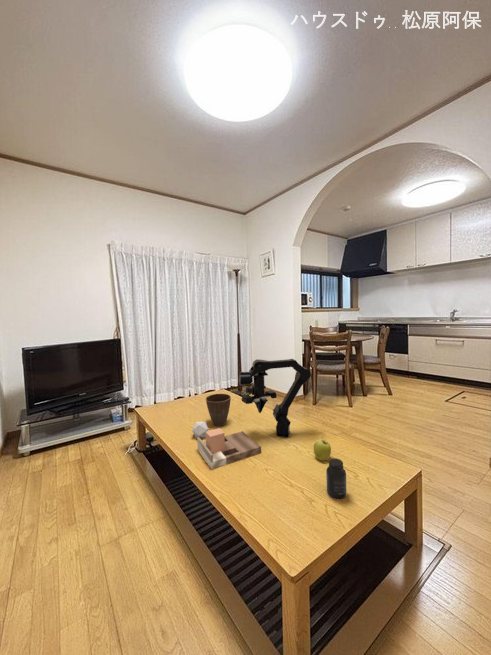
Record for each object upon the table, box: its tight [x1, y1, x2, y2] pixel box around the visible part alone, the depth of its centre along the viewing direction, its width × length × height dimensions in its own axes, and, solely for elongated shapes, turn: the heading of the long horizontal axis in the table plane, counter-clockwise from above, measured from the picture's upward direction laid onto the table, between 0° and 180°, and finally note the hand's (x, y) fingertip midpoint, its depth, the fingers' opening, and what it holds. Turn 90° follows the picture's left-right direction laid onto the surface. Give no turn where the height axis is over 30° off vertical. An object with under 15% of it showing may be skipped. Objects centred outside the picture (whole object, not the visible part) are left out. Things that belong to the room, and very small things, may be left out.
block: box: [205, 427, 226, 453], centre depth 123 cm, size 7×6×8 cm
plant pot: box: [205, 393, 232, 427], centre depth 158 cm, size 15×15×16 cm
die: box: [191, 421, 209, 439], centre depth 143 cm, size 8×9×10 cm
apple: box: [313, 438, 332, 461], centre depth 118 cm, size 8×8×10 cm
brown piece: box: [196, 430, 262, 470], centre depth 127 cm, size 25×19×6 cm
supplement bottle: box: [325, 457, 347, 500], centre depth 95 cm, size 7×7×12 cm
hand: (259, 412), depth 140 cm, fingers closed
